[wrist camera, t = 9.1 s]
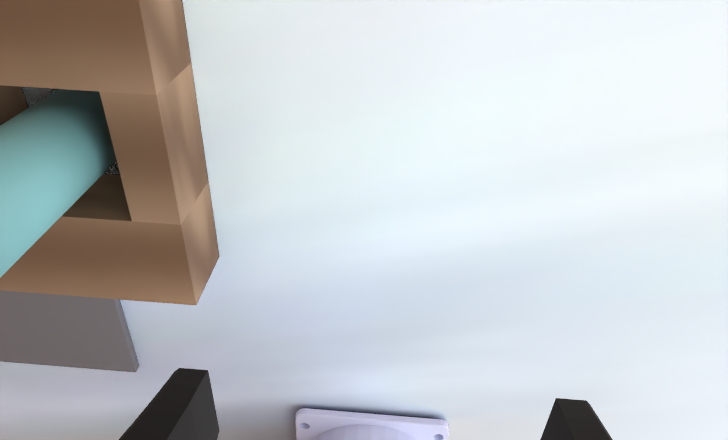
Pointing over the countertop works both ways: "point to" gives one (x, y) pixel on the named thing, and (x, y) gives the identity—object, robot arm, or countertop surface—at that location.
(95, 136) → the peg
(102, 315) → the mat
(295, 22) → the countertop surface
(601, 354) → the countertop surface
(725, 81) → the countertop surface
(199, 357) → the countertop surface
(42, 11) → the hole block
